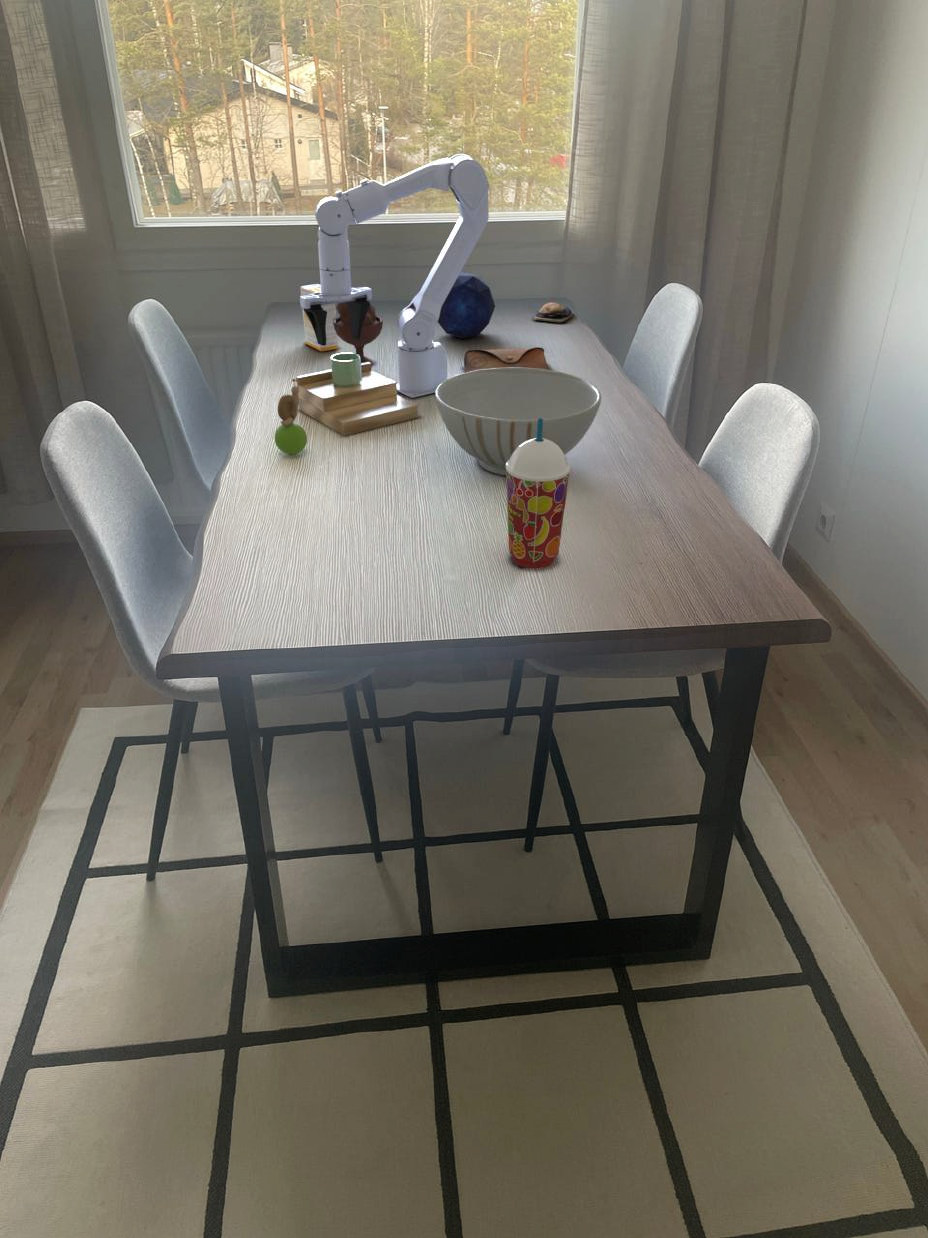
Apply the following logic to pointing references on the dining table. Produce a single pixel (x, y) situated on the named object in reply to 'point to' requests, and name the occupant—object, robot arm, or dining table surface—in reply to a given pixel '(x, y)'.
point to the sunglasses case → (505, 359)
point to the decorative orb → (467, 307)
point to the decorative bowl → (515, 410)
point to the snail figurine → (290, 424)
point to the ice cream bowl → (368, 332)
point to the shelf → (354, 401)
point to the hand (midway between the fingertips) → (339, 341)
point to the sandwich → (553, 313)
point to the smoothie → (536, 500)
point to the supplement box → (330, 331)
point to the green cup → (346, 369)
